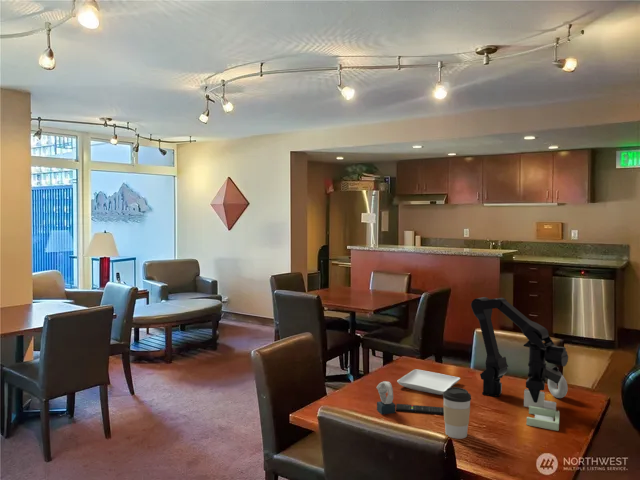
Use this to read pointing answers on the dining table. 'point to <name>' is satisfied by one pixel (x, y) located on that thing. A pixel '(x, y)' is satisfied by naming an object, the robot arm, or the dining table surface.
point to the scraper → (540, 403)
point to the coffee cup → (456, 412)
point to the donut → (558, 388)
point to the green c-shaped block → (541, 422)
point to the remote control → (420, 409)
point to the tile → (544, 417)
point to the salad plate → (428, 381)
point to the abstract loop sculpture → (386, 403)
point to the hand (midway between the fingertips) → (535, 400)
